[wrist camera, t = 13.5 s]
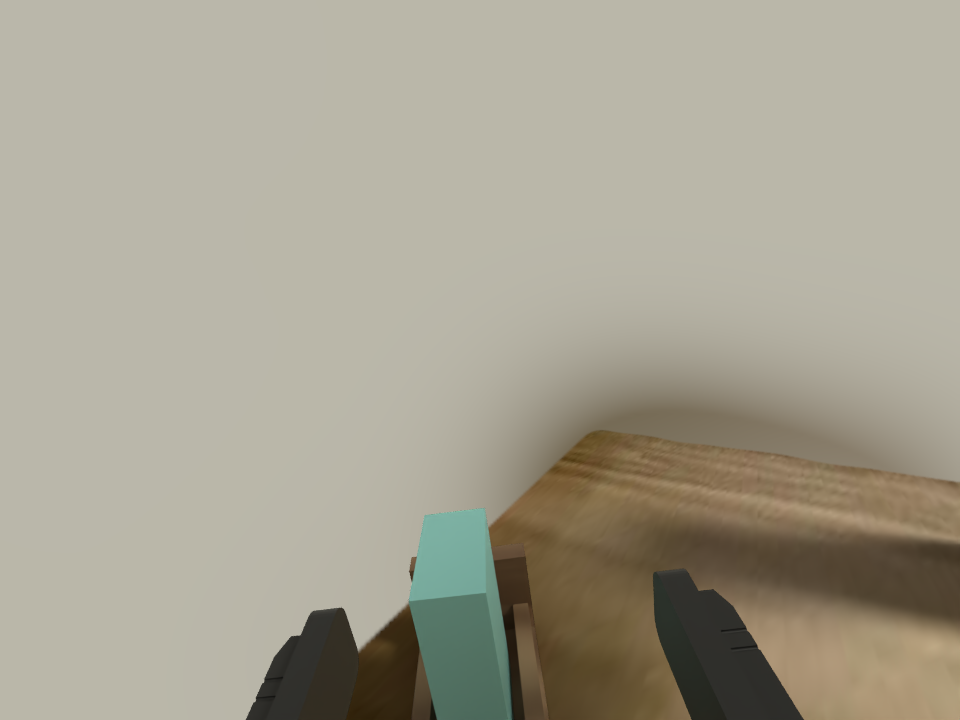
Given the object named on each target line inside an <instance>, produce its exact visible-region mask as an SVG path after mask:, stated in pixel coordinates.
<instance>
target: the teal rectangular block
mask: <svg viewBox="0 0 960 720" xmlns="http://www.w3.org/2000/svg"><path fill="white" fill-rule="evenodd" d="M409 605H410V609H411V613H412V617H413V622H414V626H415V630H416V634H417V638H418V642H419V646H420V651H421V655H422V659H423V663H424V667H425V671H426V676H427V680H428V684H429V688H430V692H431V696H432V701H433V705H434V709H435V713H436V717H437V720H514V712H513V697H512V682H511V667H510V660H509V654H508V648H507V642H506V635H505V629H504V623H503V617H502V611H501V605H500V599H499V592H498V586H497V580H496V574H495V568H494V562H493V556H492V549H491V543H490V537H489V531H488V525H487V519H486V512H485V508H480V509H472V510H464V511H455V512H447V513H439V514H431V515H425V516H424V521H423V527H422V533H421V537H420V543H419V549H418V554H417V559H416V564H415V570H414V575H413V581H412V586H411V592H410V597H409Z"/></svg>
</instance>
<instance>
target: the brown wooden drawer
mask: <svg viewBox="0 0 960 720" xmlns="http://www.w3.org/2000/svg"><path fill="white" fill-rule="evenodd" d="M491 549H492V556H493V562H494V568H495V574H496V580H497V586H498V592H499V599H500V605H501V611H502V617H503V623H504V629H505V635H506V642H507V648H508V654H509V660H510V667H511V682H512V697H513V712H514V720H549V715H548V709H547V702H546V696H545V689H544V683H543V676H542V670H541V664H540V657H539V651H538V644H537V638H536V631H535V624H534V617H533V610H532V602H531V595H530V588H529V580H528V573H527V565H526V558H525V551H524V545H523V543H519V544H511V545H503V546H496V547H491ZM416 559H417V557H412V559H411V565H410V571H409V572H410V576H411V580H412V581H413V575H414V570H415V564H416ZM411 720H437V717H436V713H435V709H434V705H433V701H432V696H431V692H430V688H429V684H428V680H427V676H426V671H425V667H424V663H423V659H422V655H421V651H420V650H419V659H418V667H417V675H416V684H415V692H414V701H413V709H412V717H411Z"/></svg>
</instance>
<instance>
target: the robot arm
mask: <svg viewBox="0 0 960 720" xmlns="http://www.w3.org/2000/svg"><path fill="white" fill-rule="evenodd" d="M653 587H654V615H655V623H656V628H657V632H658V636H659V639H660V642H661V645H662V648H663V650H664V653H665V655H666V658H667V660H668V662H669V665H670V667H671V670H672V672H673V675H674V677H675V680H676V682H677V685H678V687H679V690H680V692H681V694H682V697H683V699H684V702H685V704H686V707H687V709H688V712H689V714H690V717H691V719H692V720H804V719H803V718H802V716H801V715H800V713H799V711H798V710H797V708H796V707H795V705H794V703H793V702H792V700H791V699H790V697H789V695H788V694H787V692H786V691H785V689H784V687H783V686H782V684H781V682H780V681H779V679H778V678H777V676H776V674H775V673H774V671H773V670H772V668H771V666H770V665H769V663H768V662H767V660H766V658H765V657H764V655H763V654H762V652H761V650H759V649H758V647H757V644H756V642H755V641H754V639H753V638H752V636H751V634H750V633H749V632H748V631H747V629H746V626H745V625H744V623H743V621H742V620H741V618H740V617H739V615H738V613H737V612H736V610H735V609H734V607H733V606H732V605H731V604H730V603H729V602H727V601H726V600H725V599H724V598H723V597H722V596H720V595H719V594H718V593H717V592H716V591H715V590H713V589H712V590H703V591H698V589H697V588H696V586H695V584H694V582H693V580H692V579H691V577H690V575H689V573H688V572H687V571H686V570H685V569H676V570H667V571H659V572H654V574H653ZM358 664H359V658H358V650H357V646H356V643H355V640H354V637H353V634H352V631H351V628H350V625H349V622H348V619H347V616H346V613H345V611H344V609H343V608H334V609H326V610H317V611H313V612H312V613H311V614H310V615H309V617H308V620H307V622H306V624H305V626H304V629H303V631H302V634H301V635H300V636H291V637H290V638H289V640H288V641H287V642H286V643H285V645H284V646H283V647H282V648H281V650H280V651H279V652H278V653H277V655H276V656H275V657H274V659H273V661H272V663H271V666H270V668H269V670H268V672H267V674H266V677H265V681H264V683H263V684H262V685H261V688H260V690H259V692H258V694H257V696H256V702H254V703H253V705H252V707H251V710H250V712H249V714H248V716H247V718H246V720H346V717H347V713H348V710H349V706H350V702H351V698H352V694H353V690H354V687H355V683H356V679H357V674H358Z"/></svg>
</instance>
